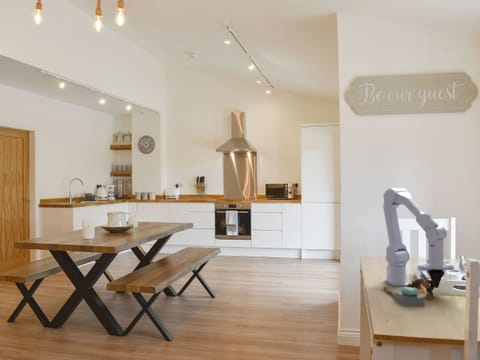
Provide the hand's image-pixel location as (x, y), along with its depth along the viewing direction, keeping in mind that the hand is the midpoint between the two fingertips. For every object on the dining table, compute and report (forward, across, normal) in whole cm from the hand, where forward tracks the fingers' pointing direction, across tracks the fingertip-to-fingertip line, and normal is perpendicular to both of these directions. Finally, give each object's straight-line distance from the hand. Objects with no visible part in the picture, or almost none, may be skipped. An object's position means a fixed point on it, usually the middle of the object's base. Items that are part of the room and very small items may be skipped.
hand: (435, 287), depth 172 cm
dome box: (+3, -16, -10) cm, 19 cm away
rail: (+3, -19, 0) cm, 19 cm away
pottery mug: (+3, -7, -2) cm, 8 cm away
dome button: (+2, -16, -10) cm, 19 cm away
